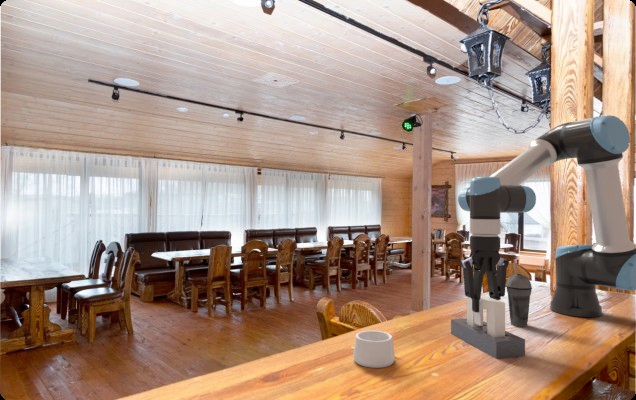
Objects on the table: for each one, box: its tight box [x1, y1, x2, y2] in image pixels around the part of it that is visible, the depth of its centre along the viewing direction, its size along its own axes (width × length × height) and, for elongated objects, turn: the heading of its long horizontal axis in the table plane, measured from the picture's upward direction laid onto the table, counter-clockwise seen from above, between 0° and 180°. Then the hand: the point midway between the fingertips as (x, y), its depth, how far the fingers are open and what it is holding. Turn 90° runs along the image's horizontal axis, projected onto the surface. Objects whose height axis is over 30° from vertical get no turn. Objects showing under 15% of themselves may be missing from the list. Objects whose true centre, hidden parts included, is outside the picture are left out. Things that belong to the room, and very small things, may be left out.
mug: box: [352, 329, 395, 369], centre depth 99 cm, size 12×10×6 cm
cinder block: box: [450, 317, 526, 360], centre depth 110 cm, size 8×20×4 cm, turn 13°
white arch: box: [466, 294, 506, 337], centre depth 110 cm, size 12×3×10 cm, turn 13°
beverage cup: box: [505, 258, 533, 328], centre depth 127 cm, size 7×7×20 cm
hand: (484, 323), depth 110 cm, fingers closed on white arch, 3 cm apart
